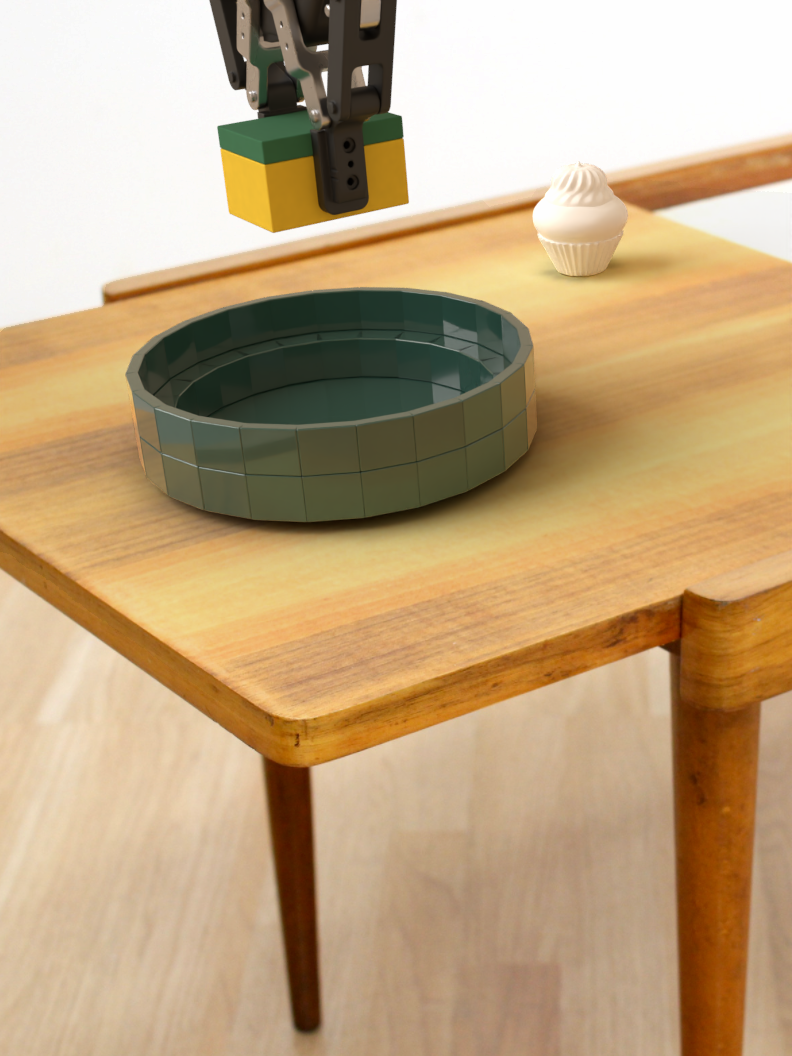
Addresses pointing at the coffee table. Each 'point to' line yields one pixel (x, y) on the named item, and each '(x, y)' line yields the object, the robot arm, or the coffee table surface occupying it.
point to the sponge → (302, 169)
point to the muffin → (580, 220)
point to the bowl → (333, 403)
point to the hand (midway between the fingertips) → (317, 197)
